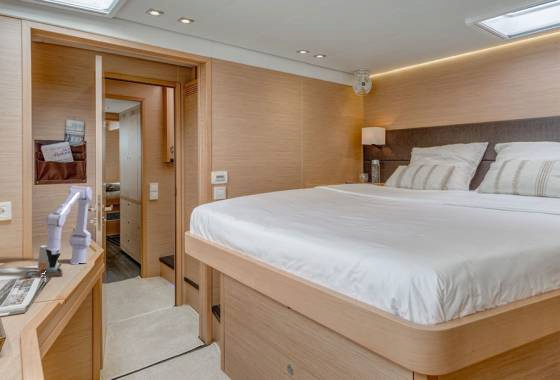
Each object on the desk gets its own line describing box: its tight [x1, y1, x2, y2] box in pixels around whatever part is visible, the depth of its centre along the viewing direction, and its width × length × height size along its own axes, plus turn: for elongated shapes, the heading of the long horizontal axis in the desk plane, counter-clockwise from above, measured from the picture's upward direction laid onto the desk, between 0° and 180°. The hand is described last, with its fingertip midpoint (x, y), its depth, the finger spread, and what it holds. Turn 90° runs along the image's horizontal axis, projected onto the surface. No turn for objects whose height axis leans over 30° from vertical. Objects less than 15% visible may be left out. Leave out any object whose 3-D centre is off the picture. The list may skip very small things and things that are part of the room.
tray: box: [39, 267, 64, 278], centre depth 178 cm, size 9×9×2 cm
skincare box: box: [37, 245, 48, 271], centre depth 186 cm, size 6×4×12 cm
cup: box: [45, 260, 59, 274], centre depth 178 cm, size 5×5×6 cm
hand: (51, 265), depth 178 cm, fingers open, 7 cm apart
